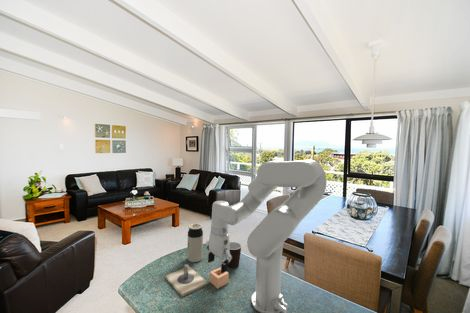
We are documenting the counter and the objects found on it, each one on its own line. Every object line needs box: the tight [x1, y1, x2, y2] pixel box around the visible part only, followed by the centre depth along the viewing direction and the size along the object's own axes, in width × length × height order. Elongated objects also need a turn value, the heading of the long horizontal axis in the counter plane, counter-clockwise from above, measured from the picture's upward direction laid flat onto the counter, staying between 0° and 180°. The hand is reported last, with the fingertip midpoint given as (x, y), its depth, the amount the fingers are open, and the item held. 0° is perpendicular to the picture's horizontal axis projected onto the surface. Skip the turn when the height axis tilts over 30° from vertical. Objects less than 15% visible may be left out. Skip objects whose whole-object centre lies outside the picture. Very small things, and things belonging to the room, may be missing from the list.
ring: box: [209, 266, 230, 289], centre depth 94 cm, size 6×6×4 cm
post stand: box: [165, 263, 208, 298], centre depth 94 cm, size 16×12×7 cm
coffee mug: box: [228, 241, 242, 269], centre depth 110 cm, size 12×9×10 cm
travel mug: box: [187, 223, 204, 263], centre depth 113 cm, size 8×8×18 cm
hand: (217, 266), depth 95 cm, fingers open, 9 cm apart
